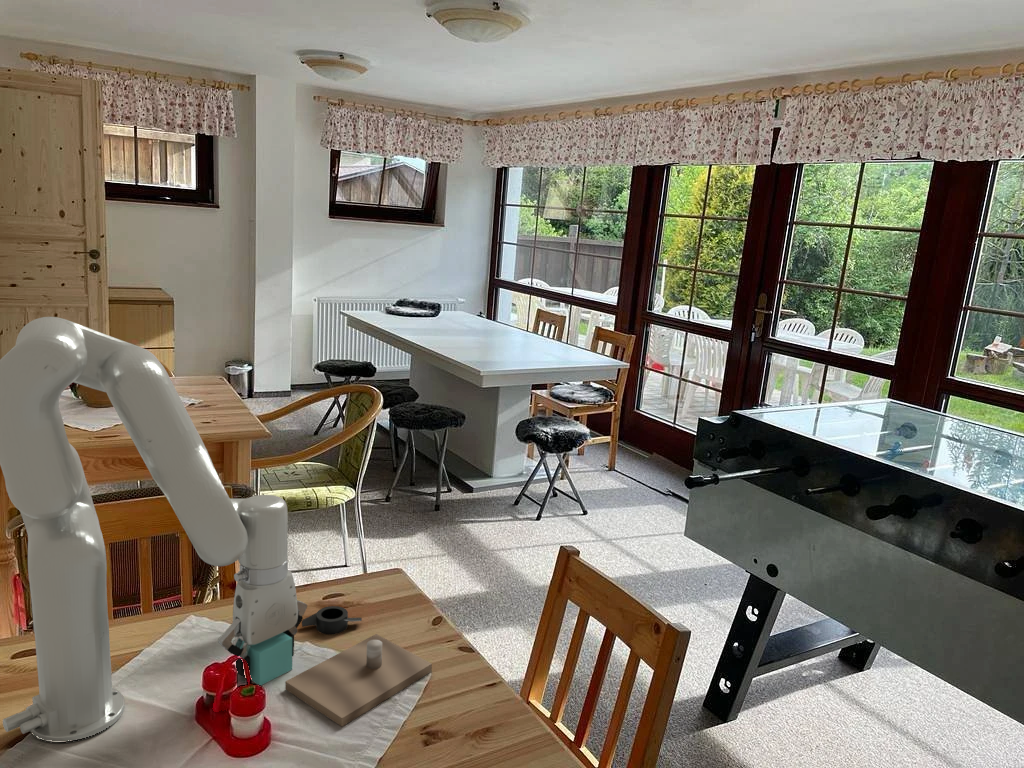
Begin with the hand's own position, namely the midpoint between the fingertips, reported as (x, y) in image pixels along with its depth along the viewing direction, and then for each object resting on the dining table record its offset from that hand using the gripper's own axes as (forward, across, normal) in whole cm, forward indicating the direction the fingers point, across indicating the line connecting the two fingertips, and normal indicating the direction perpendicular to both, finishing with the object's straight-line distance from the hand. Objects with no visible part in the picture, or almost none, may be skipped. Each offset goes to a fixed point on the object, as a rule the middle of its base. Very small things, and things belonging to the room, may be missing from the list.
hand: (265, 664), depth 132 cm
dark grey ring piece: (+2, +17, +3) cm, 17 cm away
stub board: (+1, +9, -14) cm, 17 cm away
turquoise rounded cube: (+1, 0, 0) cm, 1 cm away
